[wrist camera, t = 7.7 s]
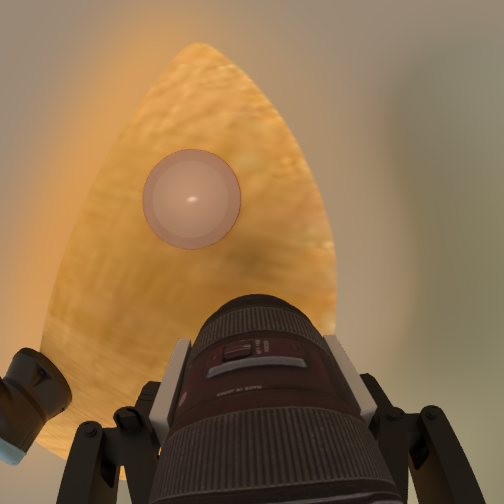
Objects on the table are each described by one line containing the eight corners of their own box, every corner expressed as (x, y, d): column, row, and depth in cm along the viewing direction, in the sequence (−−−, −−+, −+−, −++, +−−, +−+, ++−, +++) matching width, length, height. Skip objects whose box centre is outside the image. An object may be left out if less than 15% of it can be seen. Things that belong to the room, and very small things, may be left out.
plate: (147, 249, 33) (146, 250, 32) (143, 155, 30) (141, 154, 30) (241, 246, 33) (241, 248, 33) (239, 147, 31) (239, 146, 30)
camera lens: (175, 351, 18) (110, 553, 3) (238, 258, 16) (231, 541, 2) (268, 397, 19) (293, 578, 4) (337, 321, 18) (455, 510, 3)
